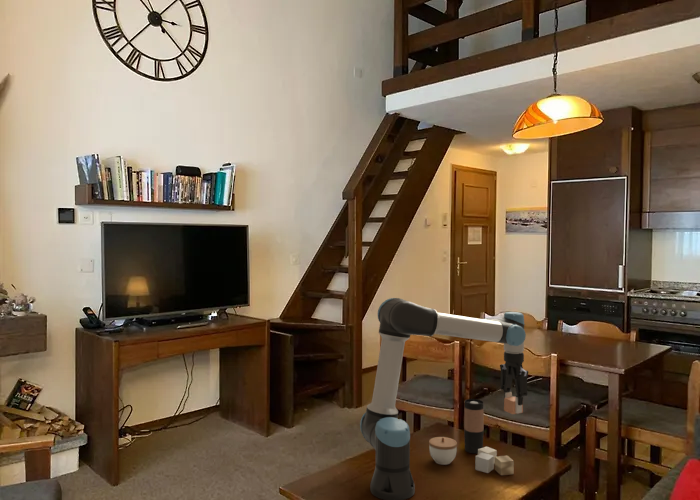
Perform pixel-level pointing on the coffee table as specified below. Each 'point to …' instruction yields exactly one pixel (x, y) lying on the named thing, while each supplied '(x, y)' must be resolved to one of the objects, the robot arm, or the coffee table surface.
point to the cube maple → (504, 465)
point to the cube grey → (484, 462)
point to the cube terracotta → (510, 405)
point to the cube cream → (488, 451)
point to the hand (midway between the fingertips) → (513, 410)
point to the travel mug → (473, 425)
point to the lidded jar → (443, 449)
